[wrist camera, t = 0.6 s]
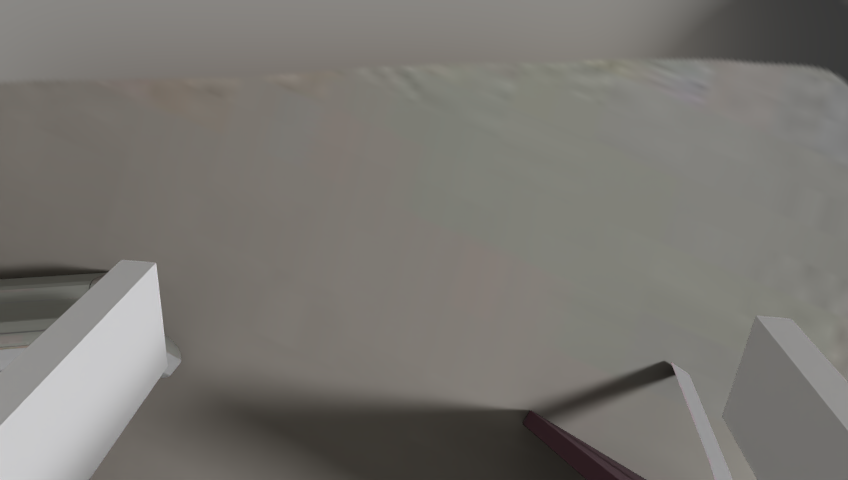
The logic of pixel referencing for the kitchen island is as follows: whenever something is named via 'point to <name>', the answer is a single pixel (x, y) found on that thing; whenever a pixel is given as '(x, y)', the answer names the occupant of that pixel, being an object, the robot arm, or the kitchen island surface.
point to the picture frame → (608, 474)
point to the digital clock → (46, 312)
